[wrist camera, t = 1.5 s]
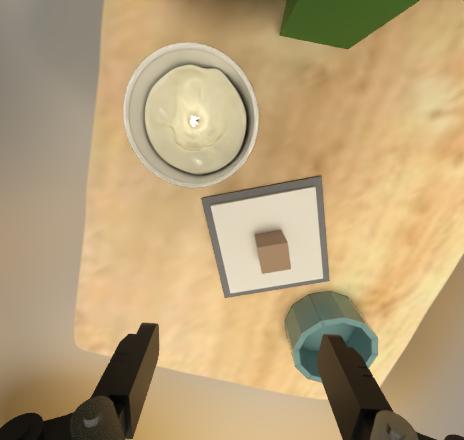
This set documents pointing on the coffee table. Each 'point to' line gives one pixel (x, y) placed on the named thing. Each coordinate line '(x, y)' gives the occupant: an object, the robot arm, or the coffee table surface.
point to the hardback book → (338, 19)
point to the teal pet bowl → (326, 330)
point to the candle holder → (190, 114)
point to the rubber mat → (259, 192)
